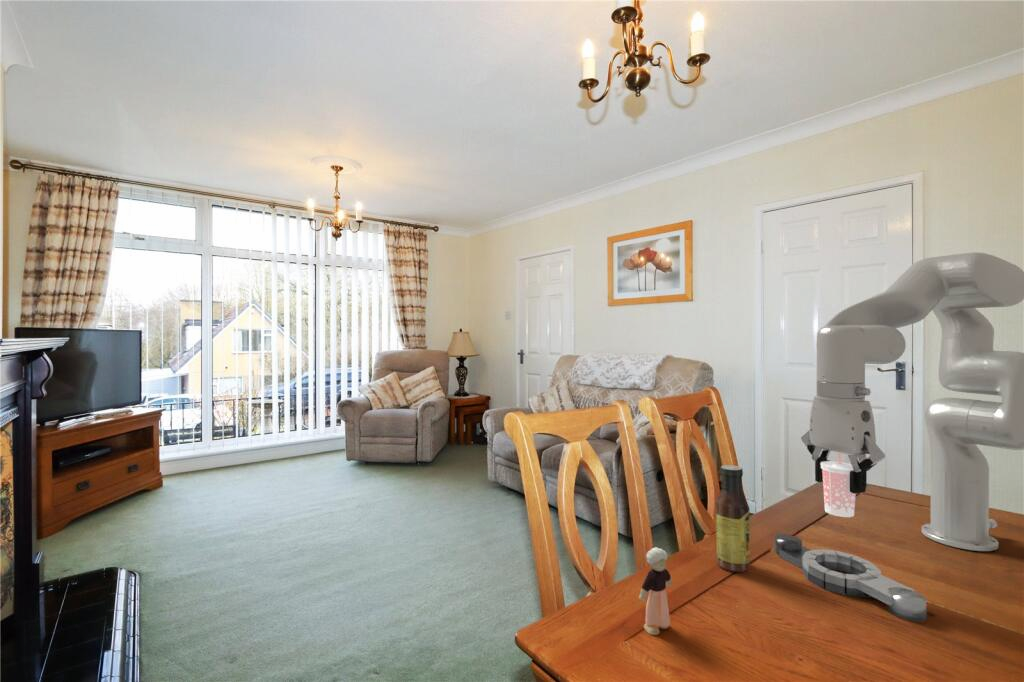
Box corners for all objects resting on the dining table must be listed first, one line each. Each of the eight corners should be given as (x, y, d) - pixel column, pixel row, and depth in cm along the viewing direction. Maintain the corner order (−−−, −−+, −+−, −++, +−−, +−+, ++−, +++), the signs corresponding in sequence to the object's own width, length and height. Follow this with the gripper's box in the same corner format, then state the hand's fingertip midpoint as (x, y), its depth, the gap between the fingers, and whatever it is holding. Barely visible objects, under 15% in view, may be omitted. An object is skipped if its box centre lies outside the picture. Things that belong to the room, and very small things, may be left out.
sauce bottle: (754, 575, 93) (754, 473, 93) (720, 572, 94) (719, 471, 94) (745, 559, 99) (744, 464, 99) (713, 557, 101) (712, 462, 100)
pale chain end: (833, 560, 98) (833, 545, 98) (948, 614, 79) (948, 596, 79) (788, 569, 95) (788, 554, 95) (897, 629, 76) (897, 610, 76)
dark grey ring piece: (799, 544, 106) (799, 530, 106) (896, 589, 87) (896, 573, 87) (756, 552, 102) (756, 538, 102) (847, 602, 83) (847, 585, 83)
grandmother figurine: (658, 642, 73) (657, 560, 73) (635, 632, 76) (634, 552, 76) (679, 620, 79) (679, 543, 79) (657, 611, 81) (657, 536, 81)
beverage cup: (867, 516, 89) (867, 440, 89) (843, 520, 87) (844, 443, 86) (835, 505, 94) (835, 434, 94) (812, 509, 92) (812, 436, 92)
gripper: (903, 396, 83) (903, 499, 83) (813, 386, 100) (813, 472, 100) (872, 398, 81) (872, 504, 81) (785, 387, 97) (785, 475, 98)
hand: (839, 485), depth 91 cm, fingers closed on beverage cup, 6 cm apart
